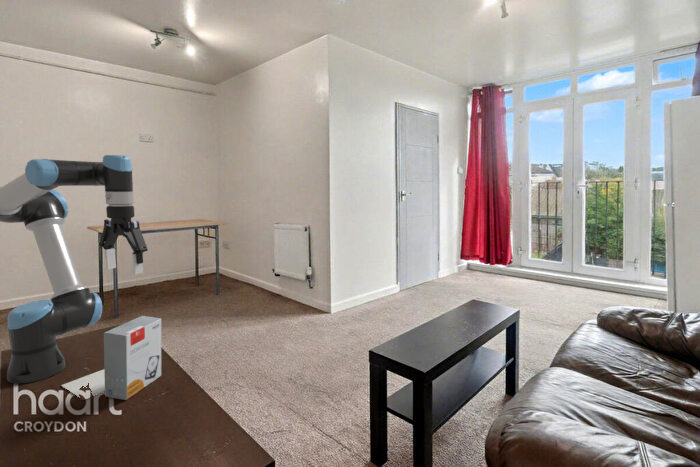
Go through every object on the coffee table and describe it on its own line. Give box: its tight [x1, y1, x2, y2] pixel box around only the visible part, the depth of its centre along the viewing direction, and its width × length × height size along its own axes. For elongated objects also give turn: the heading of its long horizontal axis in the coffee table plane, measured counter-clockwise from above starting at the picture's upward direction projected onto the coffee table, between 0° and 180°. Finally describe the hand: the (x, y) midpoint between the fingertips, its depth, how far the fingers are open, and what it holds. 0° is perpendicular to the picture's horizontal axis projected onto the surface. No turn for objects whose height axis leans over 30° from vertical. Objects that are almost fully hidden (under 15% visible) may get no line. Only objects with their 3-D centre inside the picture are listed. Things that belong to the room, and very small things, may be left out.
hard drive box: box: [103, 315, 162, 401], centre depth 117 cm, size 16×8×20 cm, turn 169°
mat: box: [61, 368, 105, 399], centre depth 120 cm, size 15×15×1 cm
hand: (124, 271), depth 122 cm, fingers open, 13 cm apart
